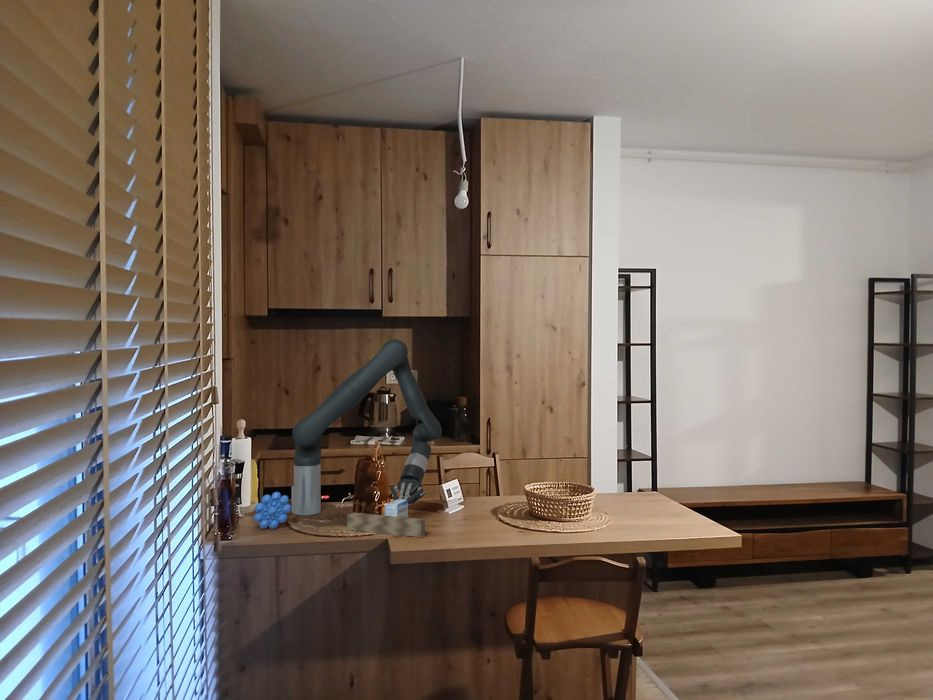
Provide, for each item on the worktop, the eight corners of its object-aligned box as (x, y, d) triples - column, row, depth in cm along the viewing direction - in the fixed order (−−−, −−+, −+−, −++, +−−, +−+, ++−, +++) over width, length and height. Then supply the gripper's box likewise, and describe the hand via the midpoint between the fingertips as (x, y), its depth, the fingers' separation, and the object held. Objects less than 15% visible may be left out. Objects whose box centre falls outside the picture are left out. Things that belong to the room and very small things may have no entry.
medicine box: (397, 532, 207) (397, 505, 207) (384, 531, 208) (384, 503, 208) (408, 526, 214) (408, 499, 214) (396, 524, 216) (395, 498, 216)
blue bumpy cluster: (292, 524, 217) (292, 488, 217) (290, 530, 210) (290, 492, 210) (255, 526, 215) (255, 489, 215) (252, 532, 208) (252, 494, 208)
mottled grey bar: (347, 530, 210) (347, 514, 210) (351, 527, 213) (351, 512, 213) (421, 537, 201) (421, 521, 201) (425, 535, 204) (425, 519, 204)
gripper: (394, 462, 227) (377, 505, 216) (429, 464, 223) (414, 508, 211) (400, 474, 232) (385, 517, 221) (435, 476, 228) (421, 521, 216)
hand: (399, 513), depth 216 cm, fingers closed
